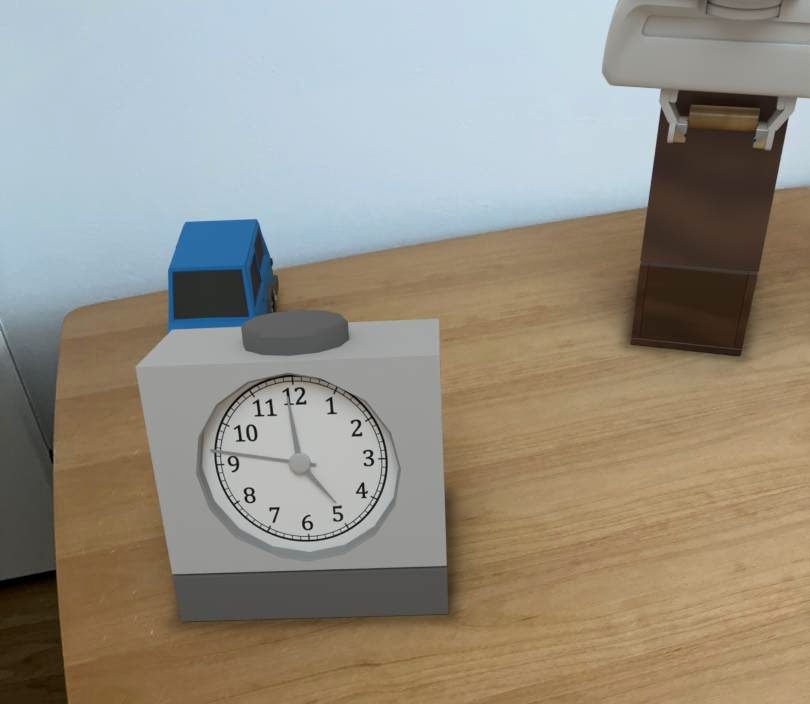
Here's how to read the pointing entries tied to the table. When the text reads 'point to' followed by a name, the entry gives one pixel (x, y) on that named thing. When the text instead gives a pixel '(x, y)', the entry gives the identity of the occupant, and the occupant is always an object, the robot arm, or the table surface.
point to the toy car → (220, 275)
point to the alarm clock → (300, 466)
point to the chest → (692, 307)
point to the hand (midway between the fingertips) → (717, 144)
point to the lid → (713, 184)
